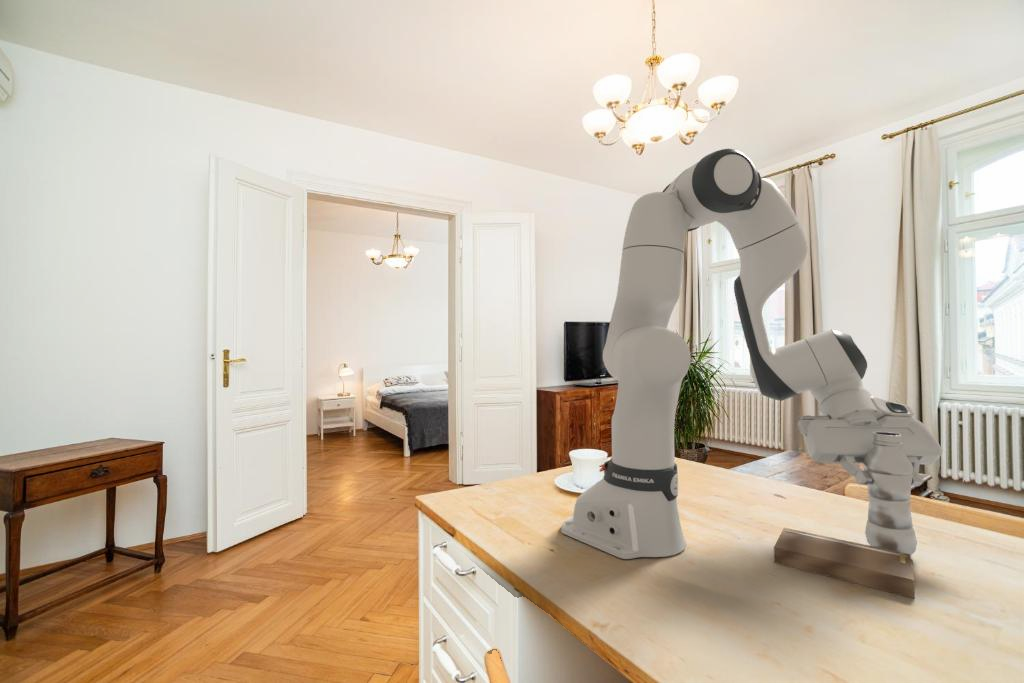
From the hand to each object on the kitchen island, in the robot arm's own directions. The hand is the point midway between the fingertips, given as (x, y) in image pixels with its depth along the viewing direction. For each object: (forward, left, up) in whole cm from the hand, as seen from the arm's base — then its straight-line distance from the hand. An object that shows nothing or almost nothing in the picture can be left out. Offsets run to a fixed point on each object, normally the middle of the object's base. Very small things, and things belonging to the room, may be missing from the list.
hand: (891, 483), depth 75 cm
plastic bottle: (0, +1, -12) cm, 12 cm away
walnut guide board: (-7, -10, -12) cm, 17 cm away
